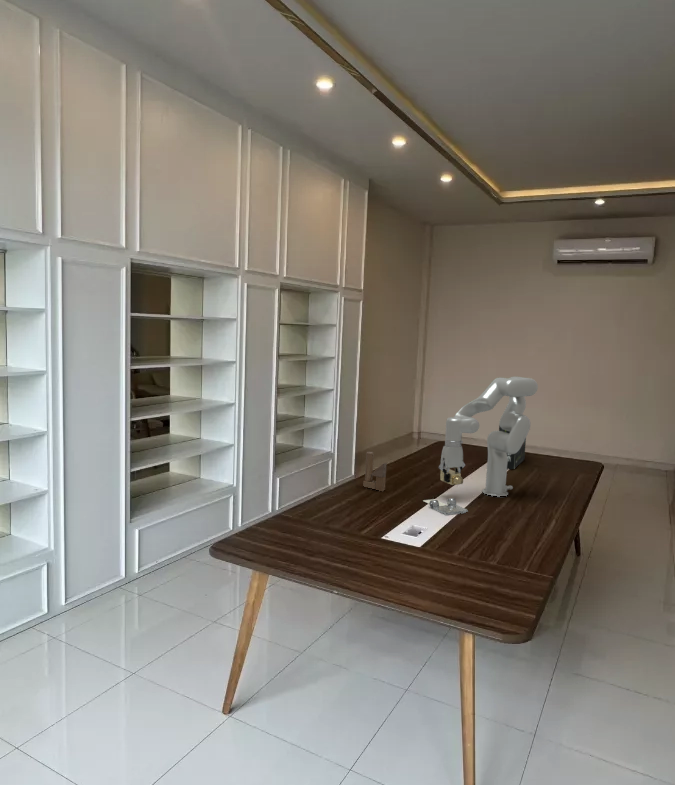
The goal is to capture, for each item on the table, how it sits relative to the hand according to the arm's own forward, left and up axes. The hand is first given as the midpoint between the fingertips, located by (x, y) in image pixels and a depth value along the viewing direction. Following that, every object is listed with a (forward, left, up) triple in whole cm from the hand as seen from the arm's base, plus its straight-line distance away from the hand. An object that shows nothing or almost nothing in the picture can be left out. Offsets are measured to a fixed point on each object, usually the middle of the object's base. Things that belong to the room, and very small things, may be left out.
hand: (451, 480), depth 273 cm
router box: (-84, -51, -9) cm, 99 cm away
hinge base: (+12, +14, -9) cm, 20 cm away
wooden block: (+28, -25, -9) cm, 38 cm away
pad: (+12, +4, -9) cm, 15 cm away
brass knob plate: (0, 0, -1) cm, 1 cm away
